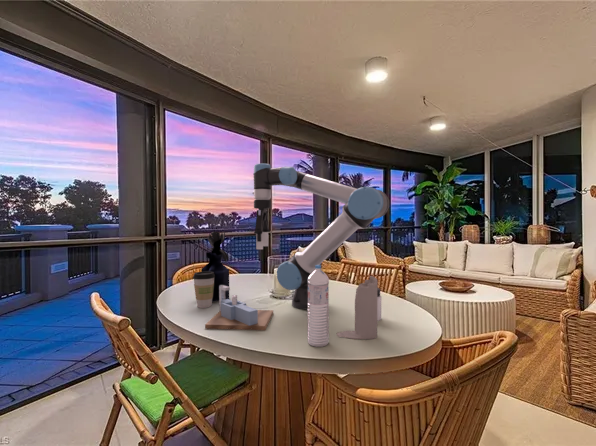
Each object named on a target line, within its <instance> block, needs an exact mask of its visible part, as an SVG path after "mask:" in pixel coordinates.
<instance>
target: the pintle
mask: <svg viewBox="0 0 596 446" xmlns="http://www.w3.org/2000/svg"><path fill="white" fill-rule="evenodd" d="M237 300H238V295H237V294H233V295H231V301H232V306H233V305H237Z"/></svg>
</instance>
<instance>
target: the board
mask: <svg viewBox="0 0 596 446" xmlns="http://www.w3.org/2000/svg"><path fill="white" fill-rule="evenodd" d="M257 310H258V323H257V324H254V325H250V326H249V325H247V324H244V323H242V322H240V321H238V320H235V319H233V320H229V319H227V318H225V317H223V316H221V311H218V312H217V313H216V314H214V316H213V317H211V318H210V319H209V320H208V321H207V322H206V323H205V324H204V329H205V330H206V329H207V330H209V329H210V330H244V331H245V330H247V331H248V330H249V331H266V329H267V327H268V325H269V323H270V321H271V319H272V317H273V316H274V310H271V309H268V310H267V309H257Z"/></svg>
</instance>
